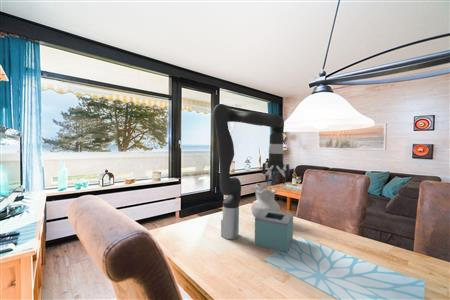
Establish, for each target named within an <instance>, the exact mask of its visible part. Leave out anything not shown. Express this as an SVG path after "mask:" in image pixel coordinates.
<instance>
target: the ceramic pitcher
mask: <svg viewBox="0 0 450 300" xmlns="http://www.w3.org/2000/svg"><path fill="white" fill-rule="evenodd" d="M254 191H255V193H254V194H255V198H256V200H254V201H253V202H252V203H251V206H250V209H251V213H252V216H253V217H254V219H255V218H256V217H257V216H258V215H259V214H260V213H261V212H262V211H263V210H264V209H265V210H271V211H277V212H281V207H280V205H279V203H278V202H276V200H275V195H276V193H277V191H278V190H277V188H275V189H274V188H272V189H270V188H262V186H261V183H259V182H257V183H256V184H255V187H254Z"/></svg>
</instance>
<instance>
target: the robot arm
mask: <svg viewBox="0 0 450 300" xmlns="http://www.w3.org/2000/svg"><path fill="white" fill-rule="evenodd" d="M212 114H213V120H214V126H215V130H216V144H217V146H216V147H217V155H218V164H219V189H220V192H221V193H222V195H223V196H226V198H225V199H223V200H222V218H221V219H220V220H221V221H220V236H221V237H223V239H226V240H235V239H236V240H237V239H238V238H239V234H240V233H239V232H240V231H239V228H240V227H239V226H240V203H241V197H242V196H241V194H242V185H241V180H240V179H239V178H238V177H234V176H233V177H231V172H230V171H231V165H232V163H233V161H234V157H235V145H234V141H233V137H232V135H231V132H230V130H229V123H242V124H248V125H253V126H258V127H259V126H260V127H261V126H262V127H269V128H270V134H269V146H268V163H267V162H263V163H262V166H261V167H262V169H261V174H262V175H264V176H265V182H266V183H270V181H269V180H270V174H271V172H276V173H280V174H281V175H282V184H283V185H285V183H287V177H289V176H290V175H291V172H290V171H291V170H290V164H289V163H287V164H284V129H285V119H284V117H282V116H281V115H280V114H276V113H264V112H257V111H239V110H235V109H231V108H230V107H228V106H227V105H225V104H221V103H219V104H217V105H215V107H214V108H213V113H212ZM266 168H268V170H267V169H266ZM283 168H285V170H286V173H285V171H284V169H283ZM266 170H267V171H266Z"/></svg>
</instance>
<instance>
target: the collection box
mask: <svg viewBox="0 0 450 300" xmlns="http://www.w3.org/2000/svg"><path fill="white" fill-rule="evenodd" d="M293 232H294V213H290V212H289V213H288V212H283V211H280V212H277V211H271V210H265V209H264V210H263V211H262V212H261V213H260V214H259V215H258V216H257V217H256V218H255V217H254V246H259V247H262V248H267V249H271V250H275V251H278V252H283V253H286V254H287V253H288V252H289V249H290V246H291V243H292V241H293V240H294V236H293V235H294V233H293Z"/></svg>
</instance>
